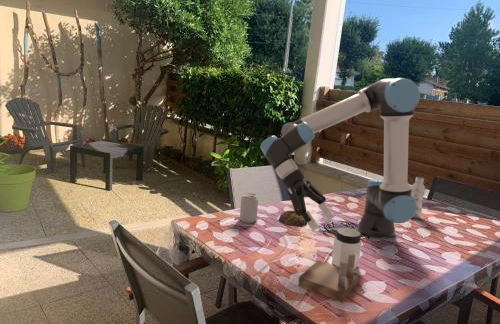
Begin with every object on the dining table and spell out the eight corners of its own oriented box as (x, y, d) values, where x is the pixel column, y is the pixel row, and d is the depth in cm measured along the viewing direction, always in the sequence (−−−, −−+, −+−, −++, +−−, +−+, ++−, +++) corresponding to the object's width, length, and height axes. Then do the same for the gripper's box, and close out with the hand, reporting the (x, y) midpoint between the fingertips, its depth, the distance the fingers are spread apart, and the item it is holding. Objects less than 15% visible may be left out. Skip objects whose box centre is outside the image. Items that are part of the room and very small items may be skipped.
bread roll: (306, 218, 176) (307, 207, 175) (307, 227, 164) (308, 216, 163) (278, 215, 177) (279, 205, 176) (278, 225, 165) (278, 214, 164)
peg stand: (298, 285, 115) (301, 255, 113) (317, 268, 126) (320, 240, 124) (342, 302, 107) (346, 270, 105) (358, 282, 119) (362, 253, 117)
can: (254, 224, 162) (256, 198, 160) (238, 222, 164) (239, 196, 161) (258, 219, 170) (259, 193, 167) (241, 216, 171) (243, 191, 169)
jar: (340, 256, 137) (343, 225, 134) (361, 264, 131) (365, 232, 129) (328, 264, 130) (331, 231, 127) (350, 273, 125) (354, 239, 122)
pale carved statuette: (406, 218, 183) (412, 178, 179) (406, 214, 189) (412, 175, 185) (421, 220, 181) (427, 180, 177) (420, 216, 187) (427, 177, 183)
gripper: (298, 174, 149) (330, 219, 144) (265, 186, 129) (300, 239, 124) (312, 163, 146) (345, 209, 141) (280, 174, 125) (317, 228, 120)
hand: (324, 223), depth 132 cm, fingers open, 13 cm apart
